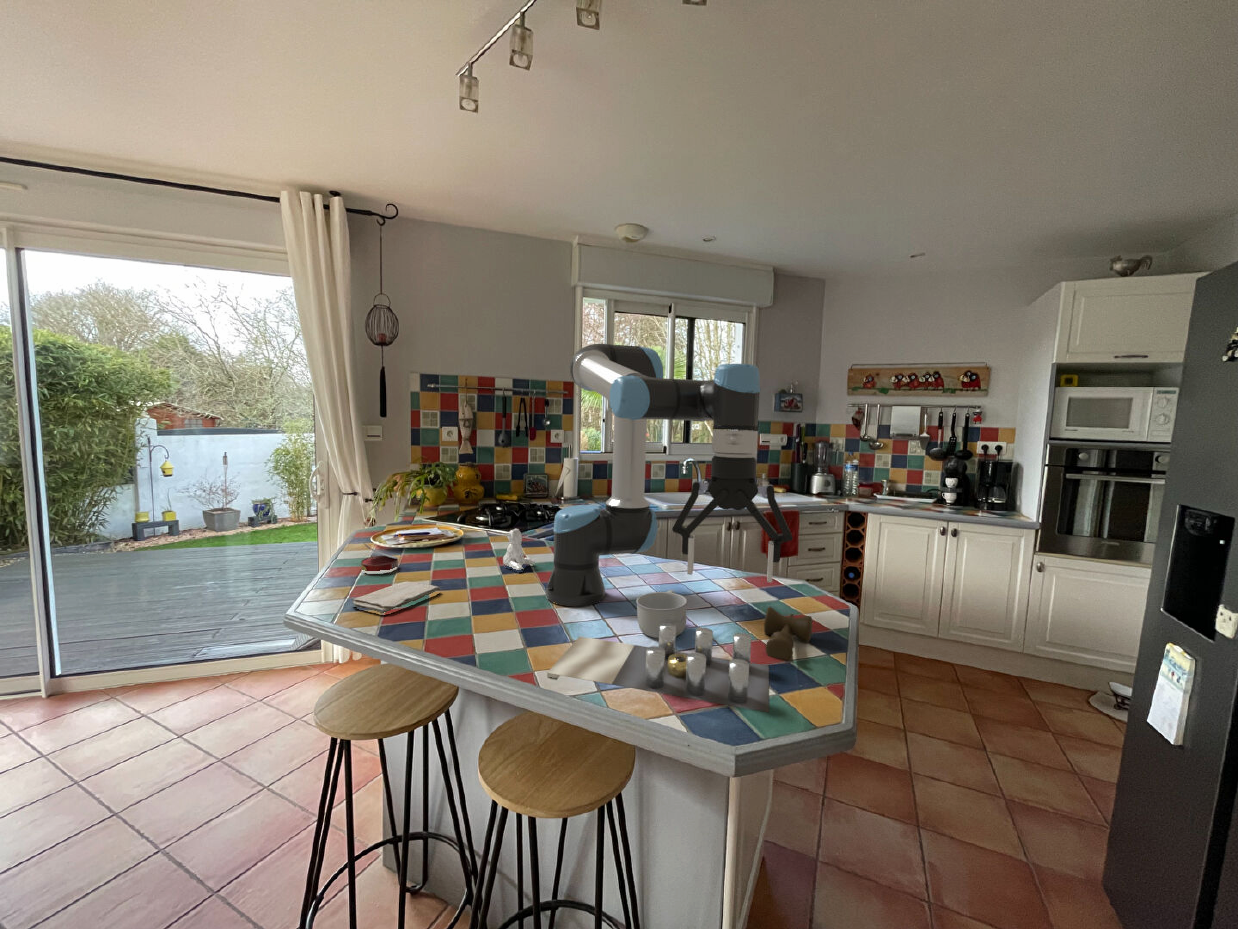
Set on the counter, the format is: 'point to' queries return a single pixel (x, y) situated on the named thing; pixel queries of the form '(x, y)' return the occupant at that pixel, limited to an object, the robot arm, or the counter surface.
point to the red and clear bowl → (379, 562)
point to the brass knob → (677, 665)
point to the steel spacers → (700, 662)
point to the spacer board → (629, 670)
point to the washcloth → (394, 596)
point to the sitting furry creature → (515, 551)
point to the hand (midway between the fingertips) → (729, 576)
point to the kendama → (785, 633)
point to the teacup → (661, 612)
